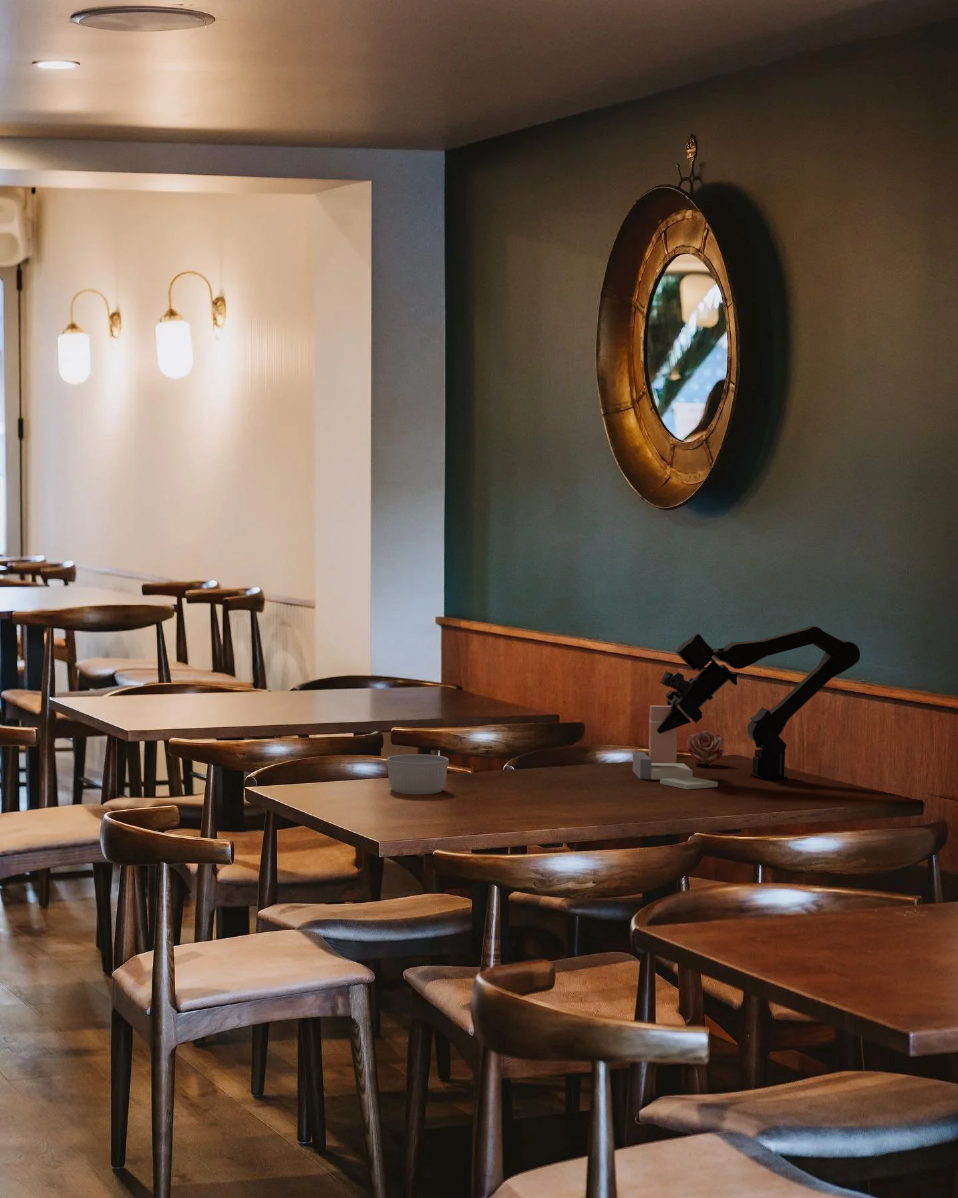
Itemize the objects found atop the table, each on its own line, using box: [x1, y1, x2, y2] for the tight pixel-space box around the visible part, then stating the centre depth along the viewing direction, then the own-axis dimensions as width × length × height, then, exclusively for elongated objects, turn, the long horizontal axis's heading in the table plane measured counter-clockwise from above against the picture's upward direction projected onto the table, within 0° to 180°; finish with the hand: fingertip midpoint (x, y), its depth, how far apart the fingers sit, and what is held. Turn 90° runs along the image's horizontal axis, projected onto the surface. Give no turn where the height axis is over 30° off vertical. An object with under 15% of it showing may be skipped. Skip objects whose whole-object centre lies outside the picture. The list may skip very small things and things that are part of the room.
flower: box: [685, 729, 725, 767], centre depth 394 cm, size 10×9×8 cm
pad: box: [659, 776, 719, 790], centre depth 362 cm, size 9×9×1 cm
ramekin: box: [386, 753, 450, 795], centre depth 345 cm, size 13×13×7 cm
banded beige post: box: [648, 704, 678, 763], centre depth 374 cm, size 6×3×13 cm, turn 92°
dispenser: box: [632, 751, 694, 780], centre depth 375 cm, size 12×12×4 cm
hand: (657, 731), depth 374 cm, fingers closed on banded beige post, 3 cm apart
